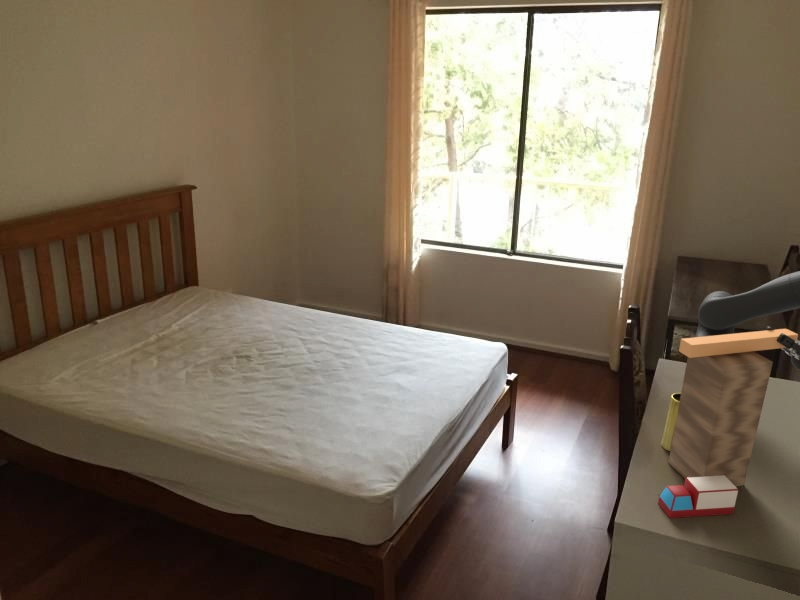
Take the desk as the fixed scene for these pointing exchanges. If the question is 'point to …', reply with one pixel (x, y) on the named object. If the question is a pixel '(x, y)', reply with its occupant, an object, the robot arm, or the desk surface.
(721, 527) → the desk surface
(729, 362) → the pedestal
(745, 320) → the robot arm
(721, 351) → the light orange bar
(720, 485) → the toy truck
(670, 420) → the vase
